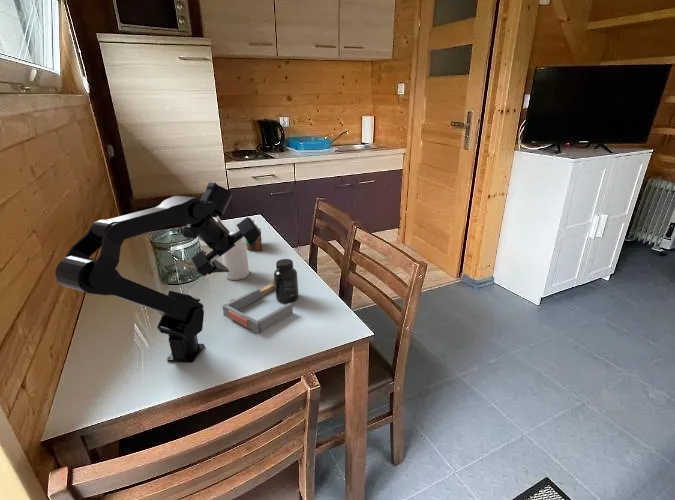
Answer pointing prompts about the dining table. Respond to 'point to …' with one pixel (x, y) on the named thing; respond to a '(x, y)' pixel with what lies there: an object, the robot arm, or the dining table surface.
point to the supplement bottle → (286, 281)
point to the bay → (256, 326)
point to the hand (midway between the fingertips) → (241, 260)
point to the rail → (266, 289)
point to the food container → (258, 243)
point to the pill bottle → (236, 261)
